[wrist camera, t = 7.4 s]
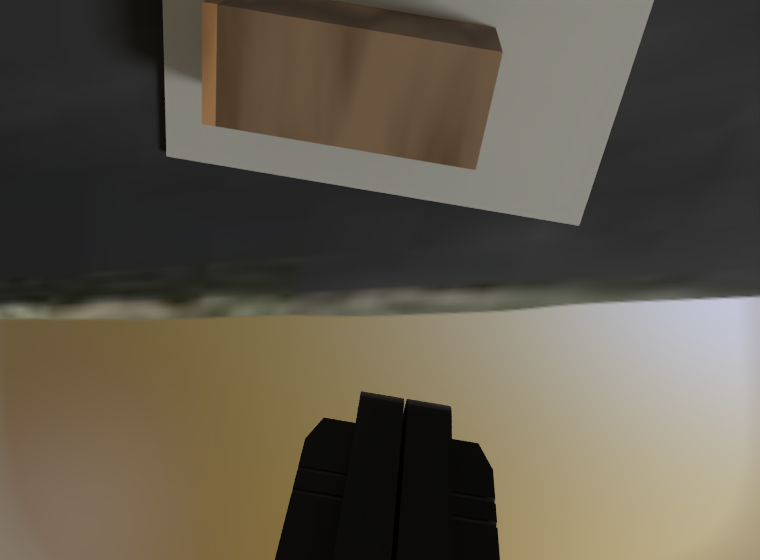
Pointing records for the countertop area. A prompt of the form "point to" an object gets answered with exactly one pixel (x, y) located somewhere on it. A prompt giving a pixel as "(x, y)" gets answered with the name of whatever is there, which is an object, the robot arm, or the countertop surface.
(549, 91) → the grey mat
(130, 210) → the countertop surface
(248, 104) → the walnut block
